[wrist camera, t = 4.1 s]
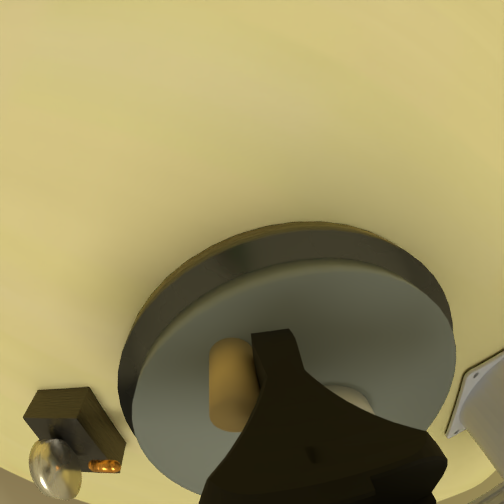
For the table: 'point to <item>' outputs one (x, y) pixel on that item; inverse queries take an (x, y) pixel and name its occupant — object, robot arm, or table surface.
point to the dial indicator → (70, 440)
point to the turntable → (311, 350)
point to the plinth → (252, 258)
